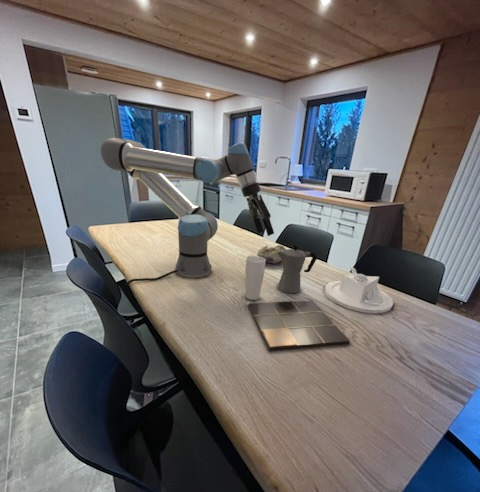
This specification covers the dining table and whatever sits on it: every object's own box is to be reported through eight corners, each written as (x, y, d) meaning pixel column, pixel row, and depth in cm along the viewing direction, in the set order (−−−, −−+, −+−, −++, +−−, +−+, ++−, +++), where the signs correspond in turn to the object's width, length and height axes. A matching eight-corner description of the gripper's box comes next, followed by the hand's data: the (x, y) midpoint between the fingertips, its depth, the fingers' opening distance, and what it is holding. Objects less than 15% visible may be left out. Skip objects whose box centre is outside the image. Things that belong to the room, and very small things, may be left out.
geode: (253, 270, 134) (280, 273, 126) (248, 255, 129) (276, 257, 121) (267, 251, 144) (292, 253, 136) (263, 236, 139) (290, 237, 131)
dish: (358, 318, 89) (367, 288, 84) (312, 286, 109) (317, 261, 104) (407, 307, 98) (418, 279, 93) (356, 280, 119) (363, 256, 114)
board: (269, 350, 70) (270, 347, 70) (248, 305, 91) (248, 302, 91) (349, 343, 75) (350, 340, 75) (311, 302, 96) (312, 299, 96)
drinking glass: (248, 303, 93) (252, 263, 86) (239, 294, 98) (242, 256, 92) (264, 299, 96) (269, 261, 89) (255, 291, 101) (259, 254, 95)
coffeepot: (274, 293, 102) (280, 248, 94) (271, 282, 110) (276, 240, 102) (313, 294, 102) (323, 250, 95) (307, 284, 111) (315, 242, 103)
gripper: (267, 177, 97) (284, 232, 104) (249, 184, 120) (264, 228, 128) (249, 185, 96) (267, 239, 104) (234, 190, 119) (250, 234, 127)
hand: (265, 233), depth 116 cm, fingers open, 13 cm apart
